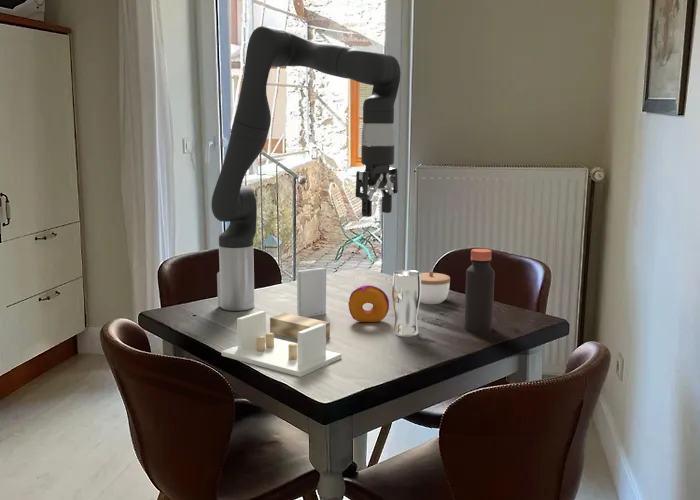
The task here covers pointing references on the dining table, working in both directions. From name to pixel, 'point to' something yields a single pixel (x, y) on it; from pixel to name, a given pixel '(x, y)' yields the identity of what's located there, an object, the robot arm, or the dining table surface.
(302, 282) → the external hard drive
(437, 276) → the lidded jar
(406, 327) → the beer glass
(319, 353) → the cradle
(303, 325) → the plank
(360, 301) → the donut
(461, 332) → the dining table surface
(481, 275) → the bottle
